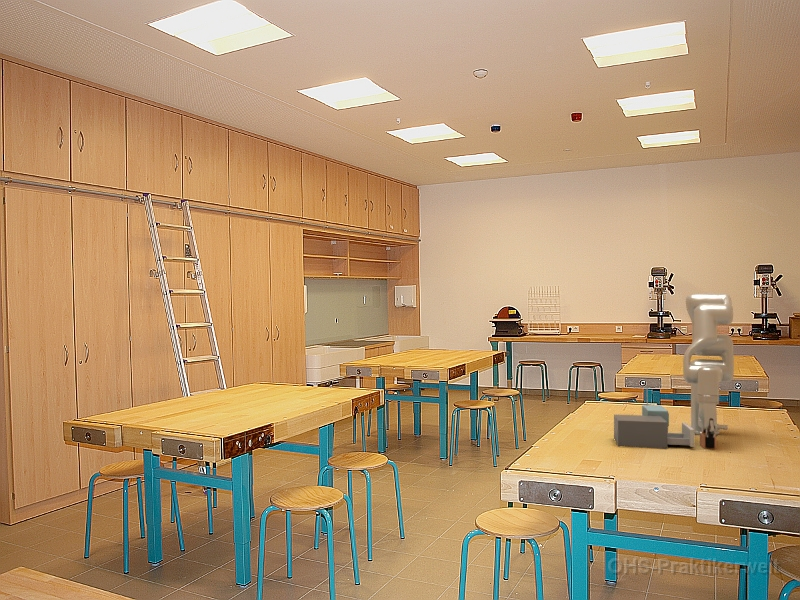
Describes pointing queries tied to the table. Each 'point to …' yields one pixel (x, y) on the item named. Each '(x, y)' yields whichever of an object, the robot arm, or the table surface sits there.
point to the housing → (640, 431)
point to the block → (702, 440)
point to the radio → (655, 411)
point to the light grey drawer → (682, 436)
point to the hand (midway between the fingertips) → (708, 445)
